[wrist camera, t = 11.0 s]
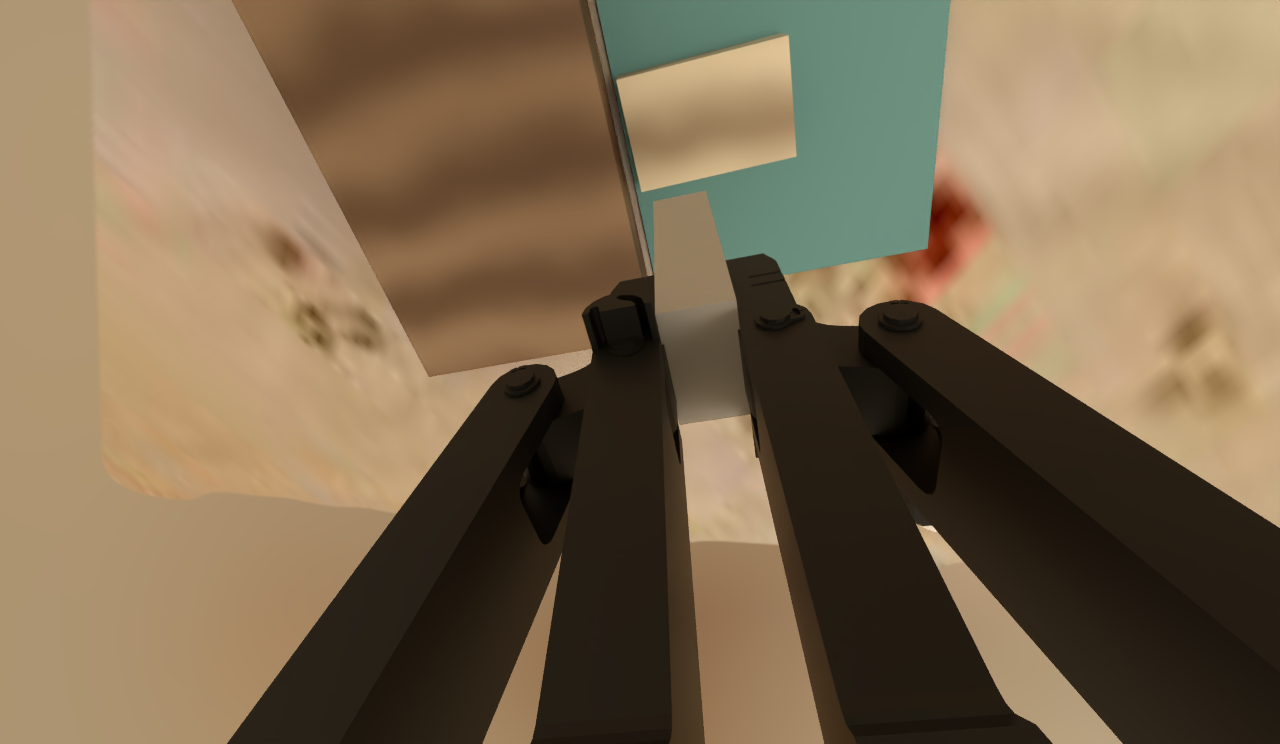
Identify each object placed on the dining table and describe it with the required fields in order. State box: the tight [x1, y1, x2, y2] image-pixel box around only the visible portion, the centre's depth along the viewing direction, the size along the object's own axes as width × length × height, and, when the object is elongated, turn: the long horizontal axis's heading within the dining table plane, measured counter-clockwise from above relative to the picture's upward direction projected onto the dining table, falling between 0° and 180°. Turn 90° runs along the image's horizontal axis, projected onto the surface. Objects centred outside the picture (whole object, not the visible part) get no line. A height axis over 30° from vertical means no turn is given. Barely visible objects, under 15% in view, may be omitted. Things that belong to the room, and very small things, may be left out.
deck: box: [232, 0, 647, 377], centre depth 32 cm, size 24×16×4 cm, turn 12°
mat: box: [596, 0, 950, 275], centre depth 31 cm, size 22×18×1 cm
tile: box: [616, 33, 797, 192], centre depth 31 cm, size 6×9×2 cm, turn 103°
